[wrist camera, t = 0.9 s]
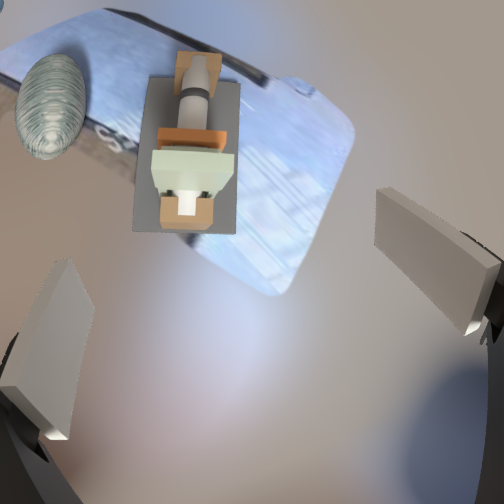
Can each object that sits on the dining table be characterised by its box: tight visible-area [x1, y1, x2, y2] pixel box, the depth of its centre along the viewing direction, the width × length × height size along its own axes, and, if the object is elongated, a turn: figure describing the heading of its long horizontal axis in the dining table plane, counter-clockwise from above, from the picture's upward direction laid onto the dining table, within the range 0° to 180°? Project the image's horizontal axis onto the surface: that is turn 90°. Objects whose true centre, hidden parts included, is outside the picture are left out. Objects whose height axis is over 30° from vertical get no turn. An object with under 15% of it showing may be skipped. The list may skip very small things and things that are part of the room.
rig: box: [132, 51, 241, 235], centre depth 34 cm, size 12×20×9 cm, turn 179°
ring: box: [157, 128, 227, 153], centre depth 31 cm, size 6×1×6 cm, turn 89°
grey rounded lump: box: [15, 54, 86, 160], centre depth 30 cm, size 14×10×10 cm
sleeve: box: [151, 146, 234, 199], centre depth 28 cm, size 6×4×12 cm, turn 89°
